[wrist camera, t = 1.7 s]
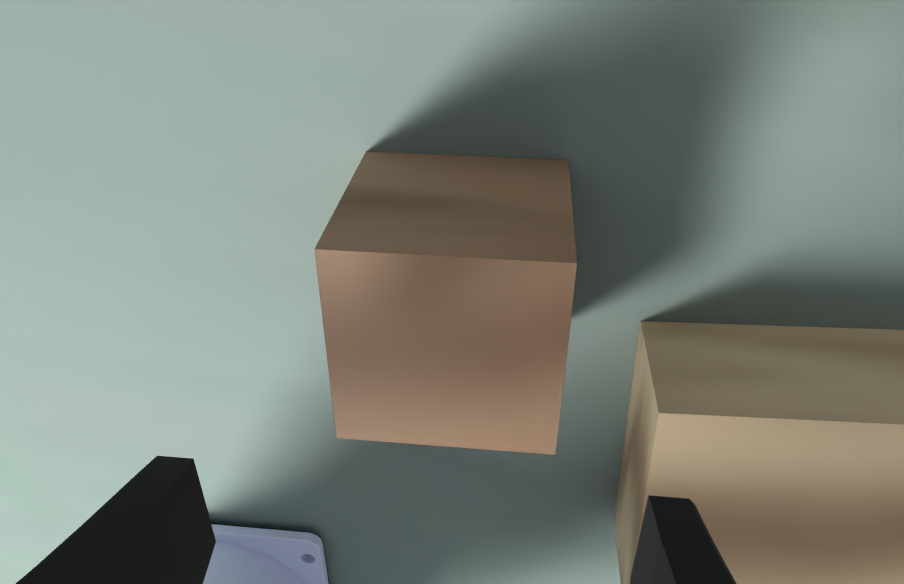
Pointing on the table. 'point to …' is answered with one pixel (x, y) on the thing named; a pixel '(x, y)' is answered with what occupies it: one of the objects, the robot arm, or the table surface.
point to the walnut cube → (449, 300)
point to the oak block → (771, 447)
